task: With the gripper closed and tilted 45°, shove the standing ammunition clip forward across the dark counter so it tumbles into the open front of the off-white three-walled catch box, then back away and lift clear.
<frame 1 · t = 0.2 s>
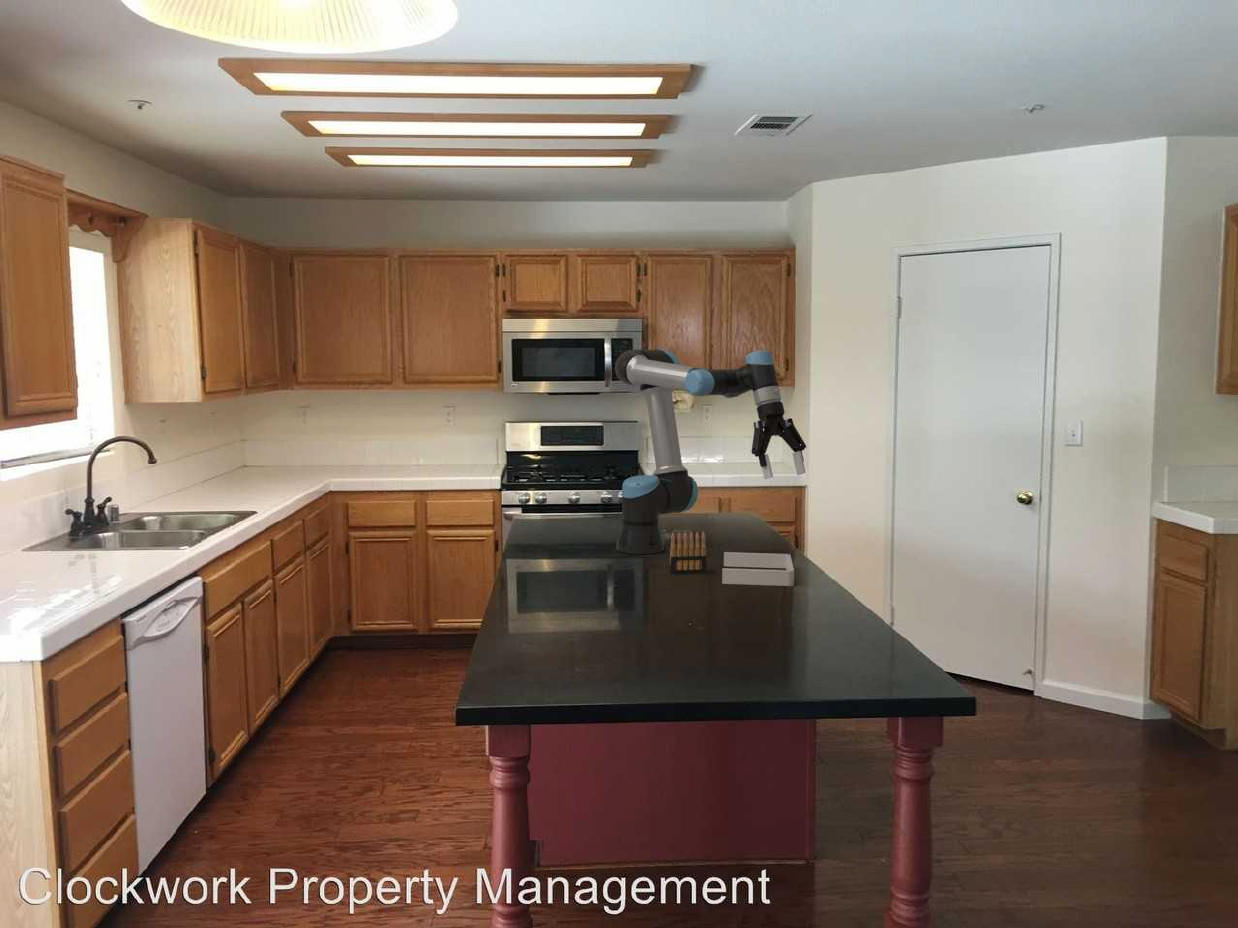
hand: (785, 476, 262), 28 cm above the table, tool tilted 20°, fingers open, 13 cm apart
ammunition clip: (687, 573, 264), on the table
catch box: (755, 575, 261), on the table
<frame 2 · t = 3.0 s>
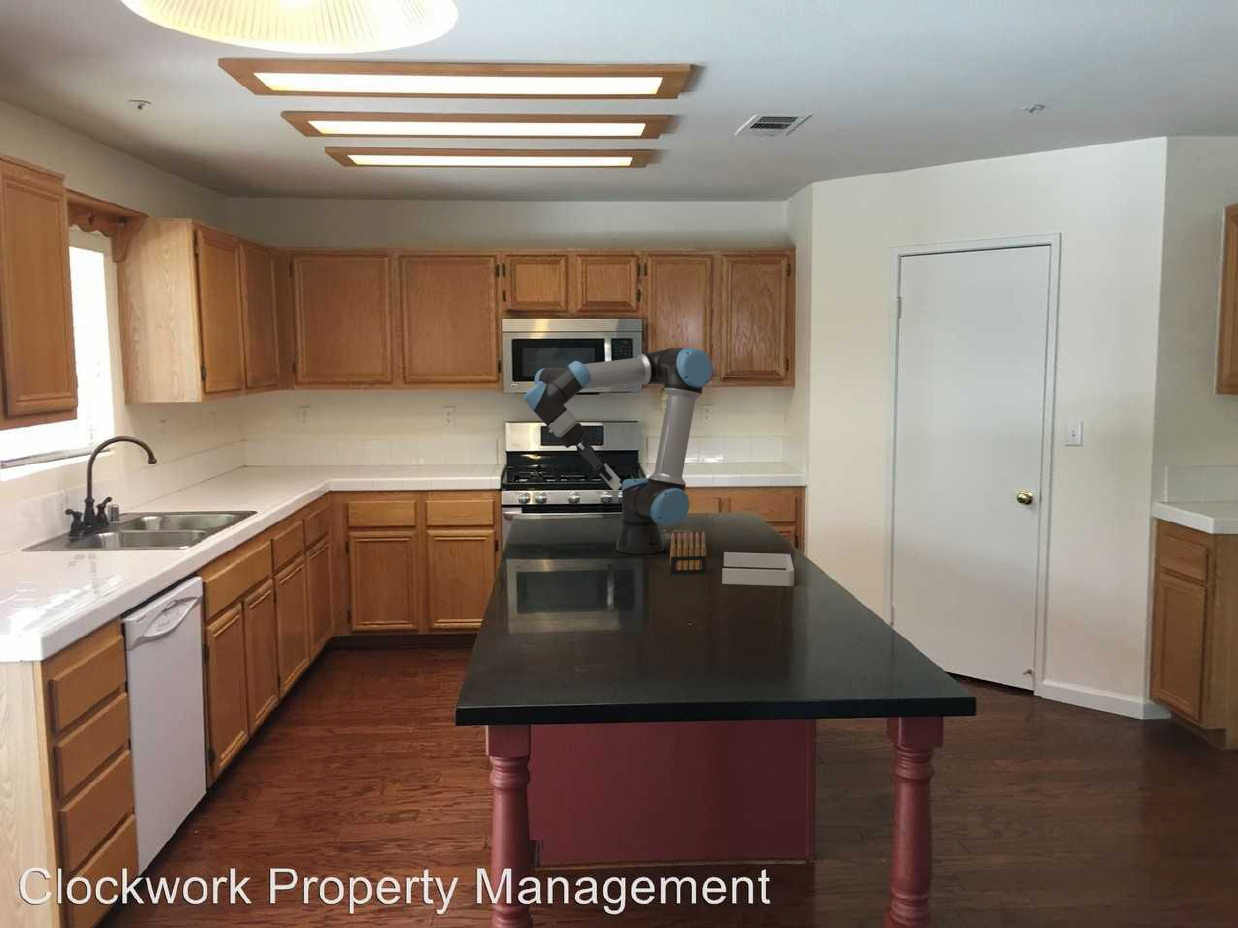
hand: (617, 485, 262), 25 cm above the table, tool tilted 40°, fingers open, 13 cm apart
nothing on the table moved.
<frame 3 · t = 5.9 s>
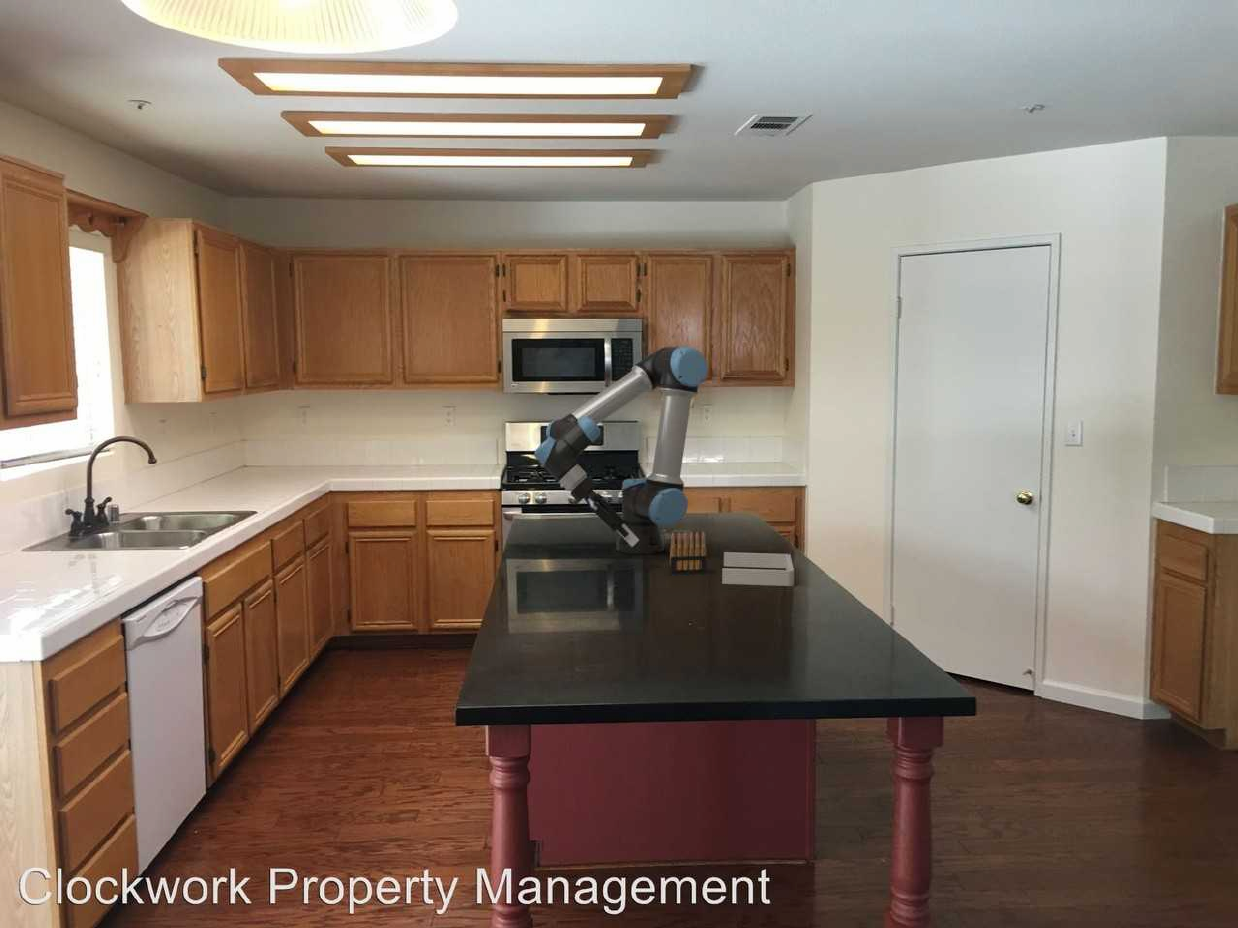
hand: (635, 543, 264), 8 cm above the table, tool tilted 45°, fingers closed
nothing on the table moved.
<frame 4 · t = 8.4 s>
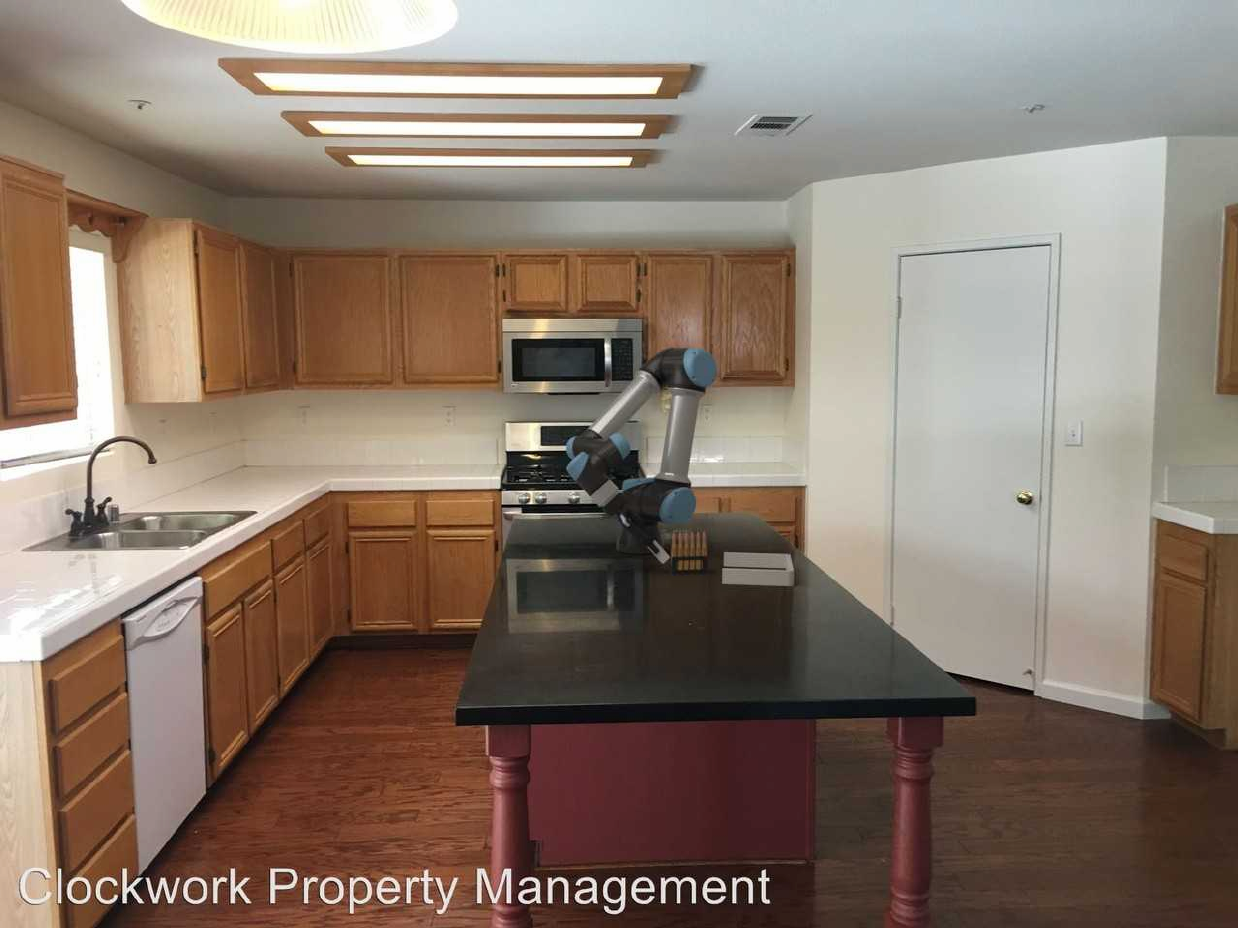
hand: (666, 560, 262), 4 cm above the table, tool tilted 45°, fingers closed
ammunition clip: (688, 573, 263), on the table, touching gripper
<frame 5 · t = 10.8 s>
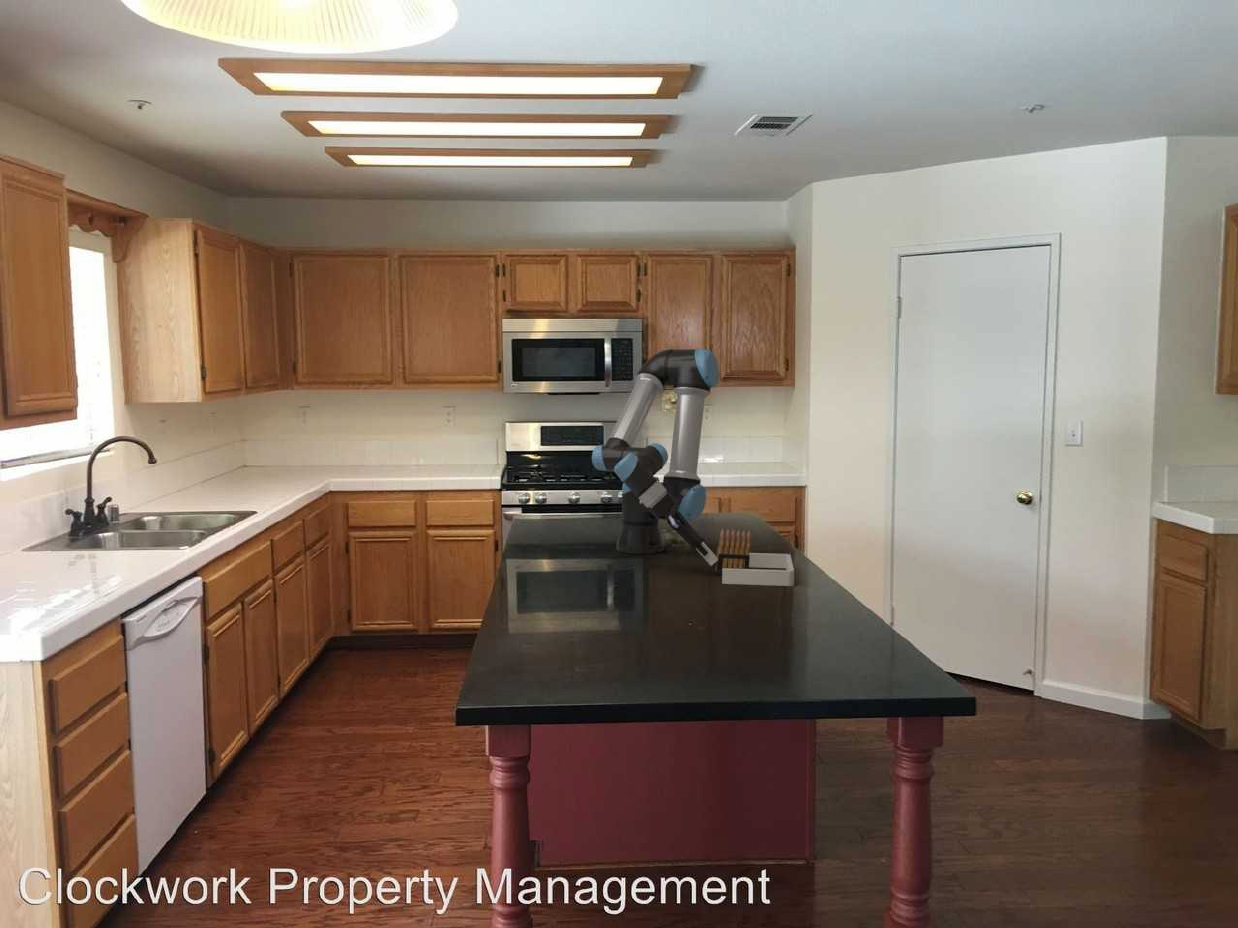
hand: (714, 562, 260), 4 cm above the table, tool tilted 45°, fingers closed
ammunition clip: (730, 572, 262), on the table, touching gripper
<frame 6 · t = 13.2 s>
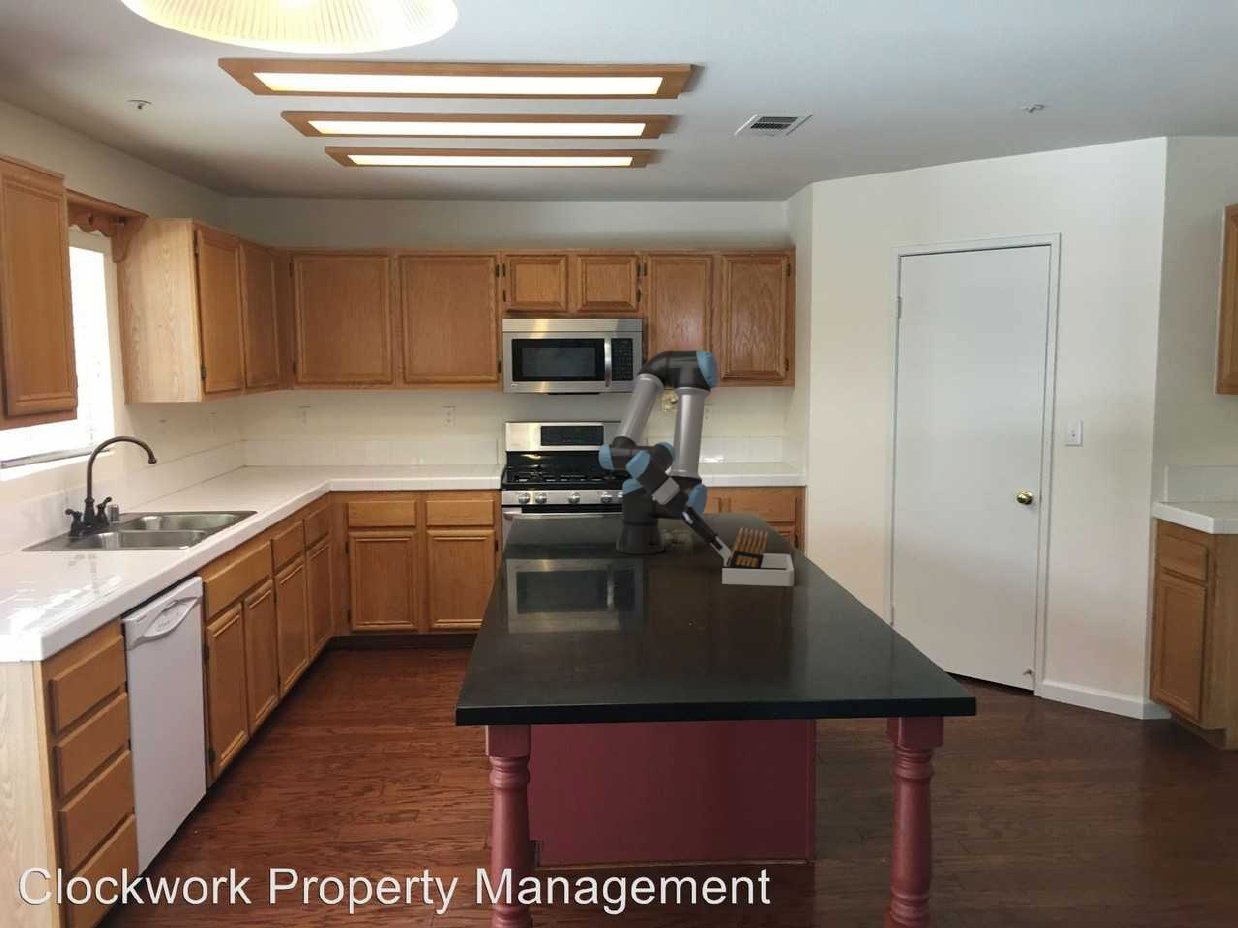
hand: (729, 556, 261), 5 cm above the table, tool tilted 45°, fingers closed
ammunition clip: (742, 569, 263), point 1 cm above the table, touching gripper
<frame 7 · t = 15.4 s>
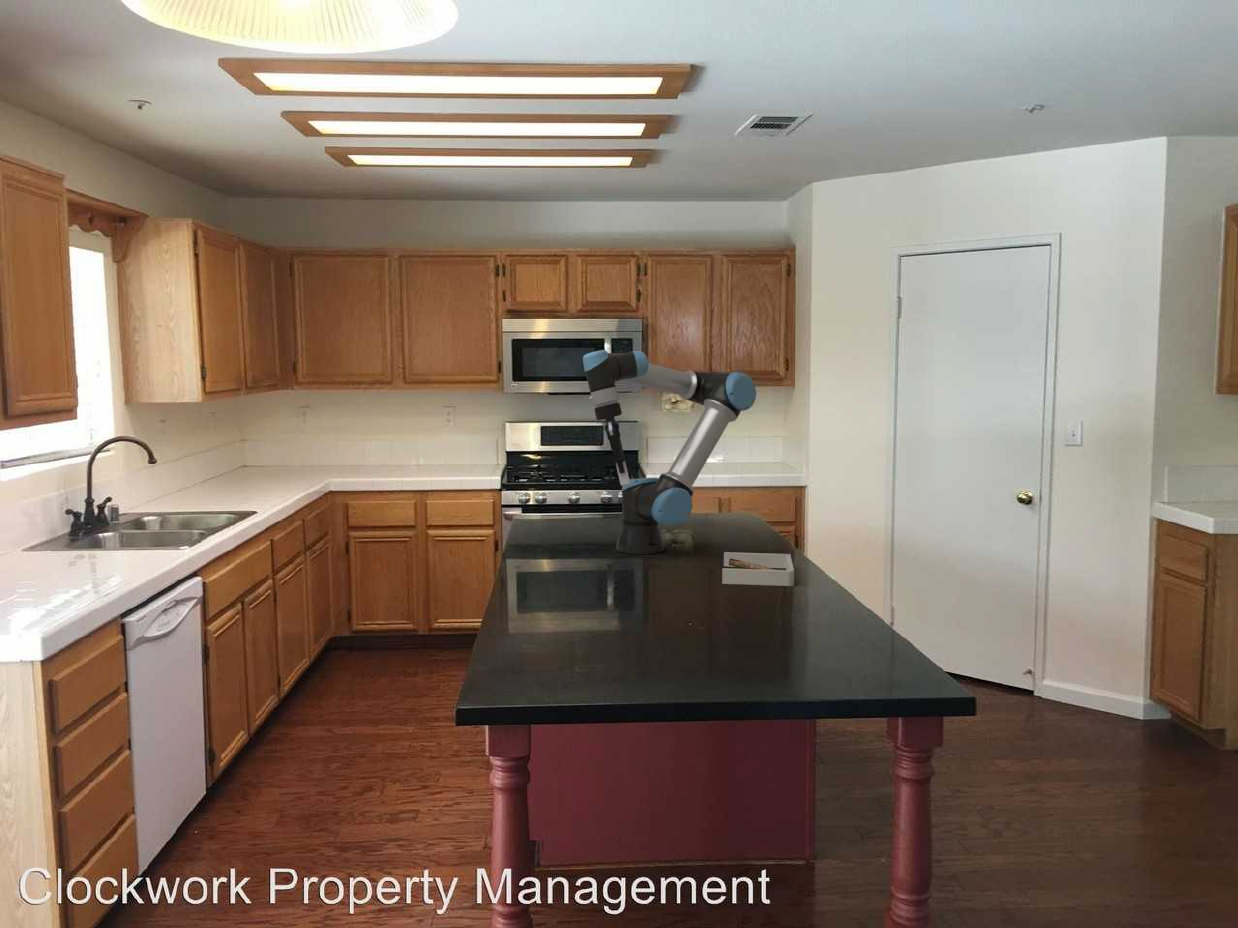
hand: (625, 484, 267), 25 cm above the table, tool pointing down, fingers closed
ammunition clip: (744, 565, 263), point 2 cm above the table, touching catch box
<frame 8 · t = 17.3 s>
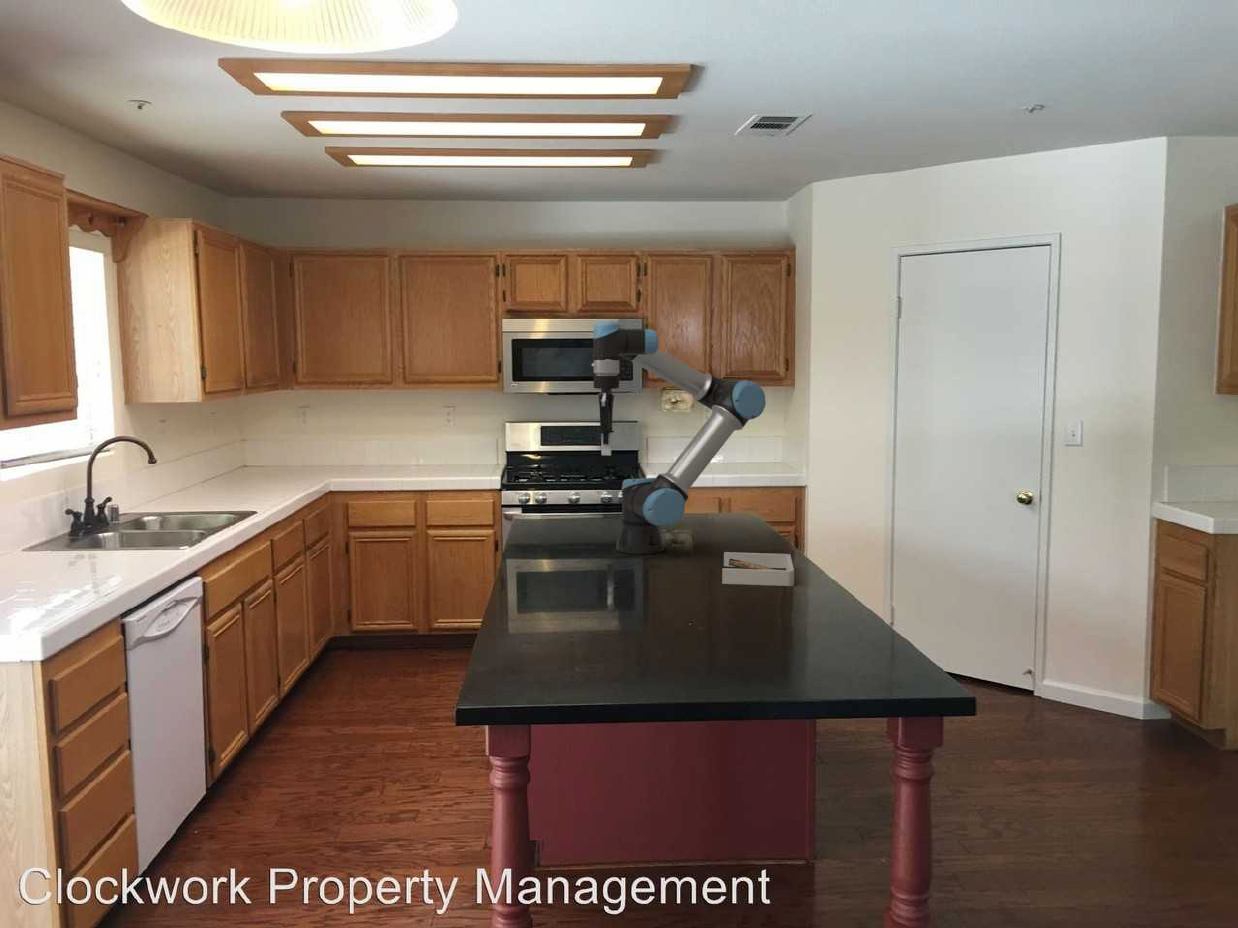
hand: (606, 455, 273), 32 cm above the table, tool pointing down, fingers closed
nothing on the table moved.
at the end: ammunition clip inside the target area (4.4 cm from its centre), point 2.3 cm above the table; ammunition clip moved 16.2 cm from its start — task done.
